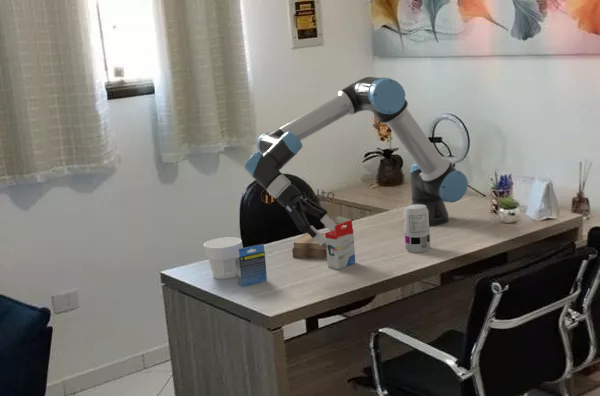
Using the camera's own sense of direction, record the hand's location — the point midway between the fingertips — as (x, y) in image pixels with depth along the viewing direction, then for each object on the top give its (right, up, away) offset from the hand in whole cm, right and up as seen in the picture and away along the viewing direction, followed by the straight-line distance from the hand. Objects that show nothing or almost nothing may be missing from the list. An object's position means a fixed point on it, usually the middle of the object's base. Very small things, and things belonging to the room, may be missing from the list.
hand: (330, 236), depth 261 cm
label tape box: (-25, -14, -8) cm, 30 cm away
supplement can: (+30, -5, +12) cm, 32 cm away
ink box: (+4, -10, +2) cm, 10 cm away
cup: (-34, -13, +2) cm, 36 cm away
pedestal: (-4, -6, +18) cm, 20 cm away
